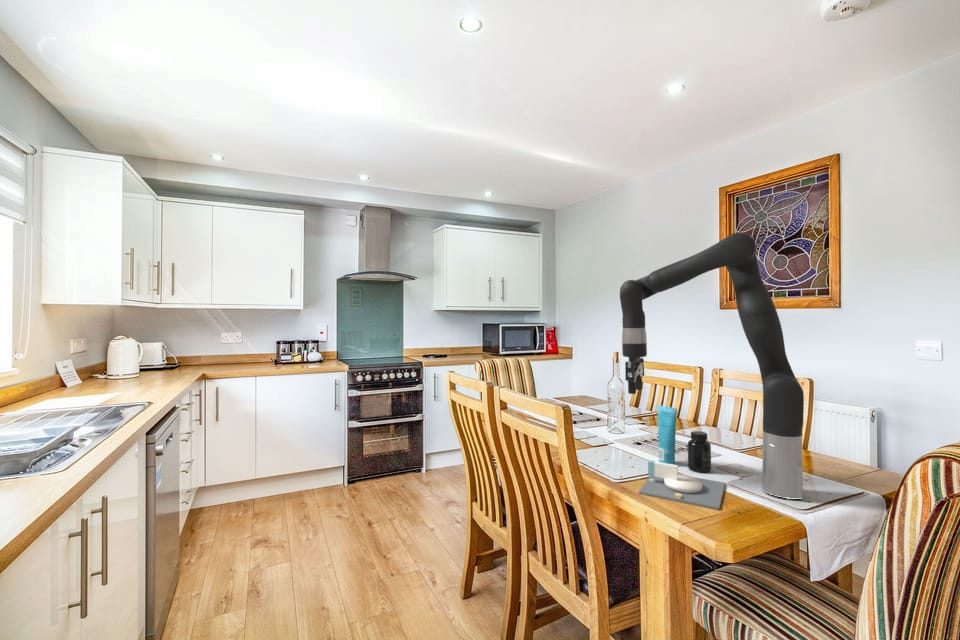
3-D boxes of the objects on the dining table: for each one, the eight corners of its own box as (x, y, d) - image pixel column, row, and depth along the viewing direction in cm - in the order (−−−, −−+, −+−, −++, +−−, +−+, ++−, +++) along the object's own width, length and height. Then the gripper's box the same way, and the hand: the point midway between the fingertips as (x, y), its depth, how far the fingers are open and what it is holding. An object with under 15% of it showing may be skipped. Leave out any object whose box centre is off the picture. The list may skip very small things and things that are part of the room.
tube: (680, 464, 151) (681, 407, 150) (673, 467, 148) (673, 409, 147) (660, 459, 156) (660, 404, 156) (652, 462, 153) (652, 405, 153)
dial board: (724, 484, 133) (724, 479, 133) (719, 510, 116) (719, 504, 116) (653, 472, 144) (653, 467, 144) (639, 493, 127) (639, 488, 127)
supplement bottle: (708, 467, 148) (708, 430, 148) (713, 474, 142) (713, 436, 141) (685, 465, 150) (686, 429, 150) (689, 472, 144) (689, 434, 143)
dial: (704, 483, 132) (704, 464, 132) (700, 495, 123) (700, 475, 123) (652, 474, 139) (652, 456, 139) (644, 485, 131) (644, 465, 131)
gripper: (641, 343, 138) (642, 396, 138) (651, 340, 150) (652, 389, 150) (616, 343, 142) (617, 394, 142) (628, 340, 154) (629, 387, 154)
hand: (635, 391), depth 146 cm, fingers open, 8 cm apart
